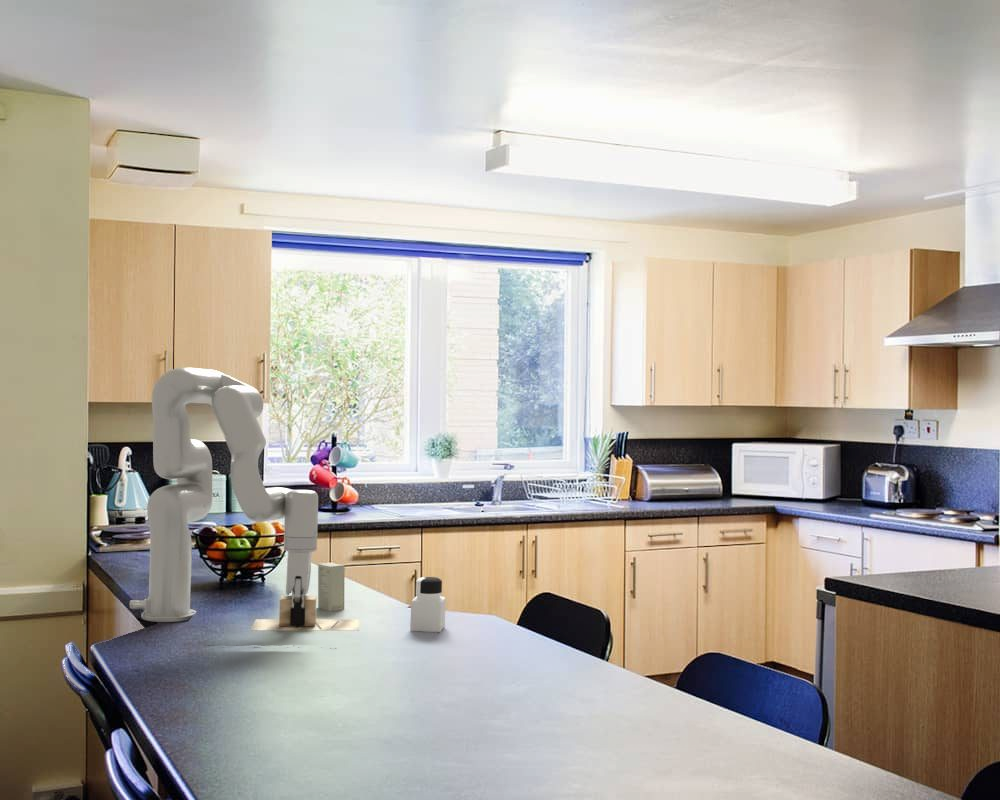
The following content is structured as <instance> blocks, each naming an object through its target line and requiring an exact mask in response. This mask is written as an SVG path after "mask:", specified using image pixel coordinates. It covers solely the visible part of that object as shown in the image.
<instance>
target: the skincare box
mask: <svg viewBox="0 0 1000 800" xmlns="http://www.w3.org/2000/svg"><path fill="white" fill-rule="evenodd" d="M317 569H318V570H317V578H318V579H317V609H323V610H326V611H329V612H334V611H341V610H345V564H341V563H337V562H324V563H318V564H317Z"/></svg>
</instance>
